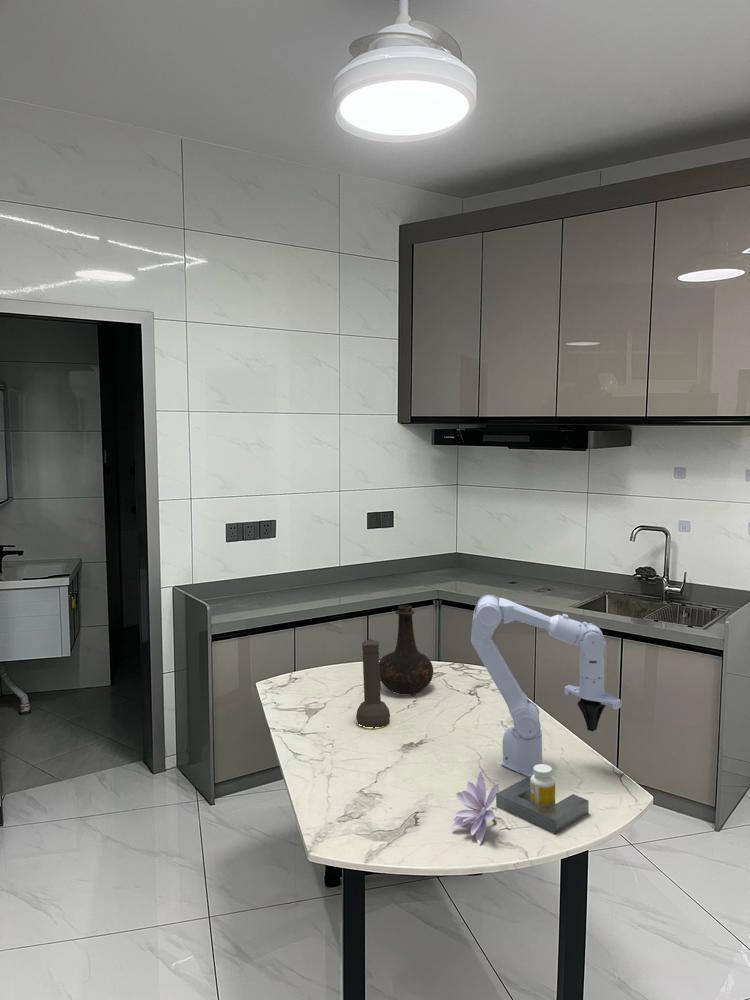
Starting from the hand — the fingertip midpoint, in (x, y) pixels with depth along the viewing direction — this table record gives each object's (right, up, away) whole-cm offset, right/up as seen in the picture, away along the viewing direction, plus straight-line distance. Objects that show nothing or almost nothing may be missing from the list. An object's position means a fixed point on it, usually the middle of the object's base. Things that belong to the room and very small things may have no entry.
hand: (592, 729), depth 183 cm
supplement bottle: (-16, -13, -16) cm, 26 cm away
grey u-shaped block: (-16, -13, -17) cm, 26 cm away
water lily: (-32, -14, -23) cm, 42 cm away
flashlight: (-53, -9, +35) cm, 65 cm away
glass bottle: (-43, -6, +61) cm, 75 cm away
